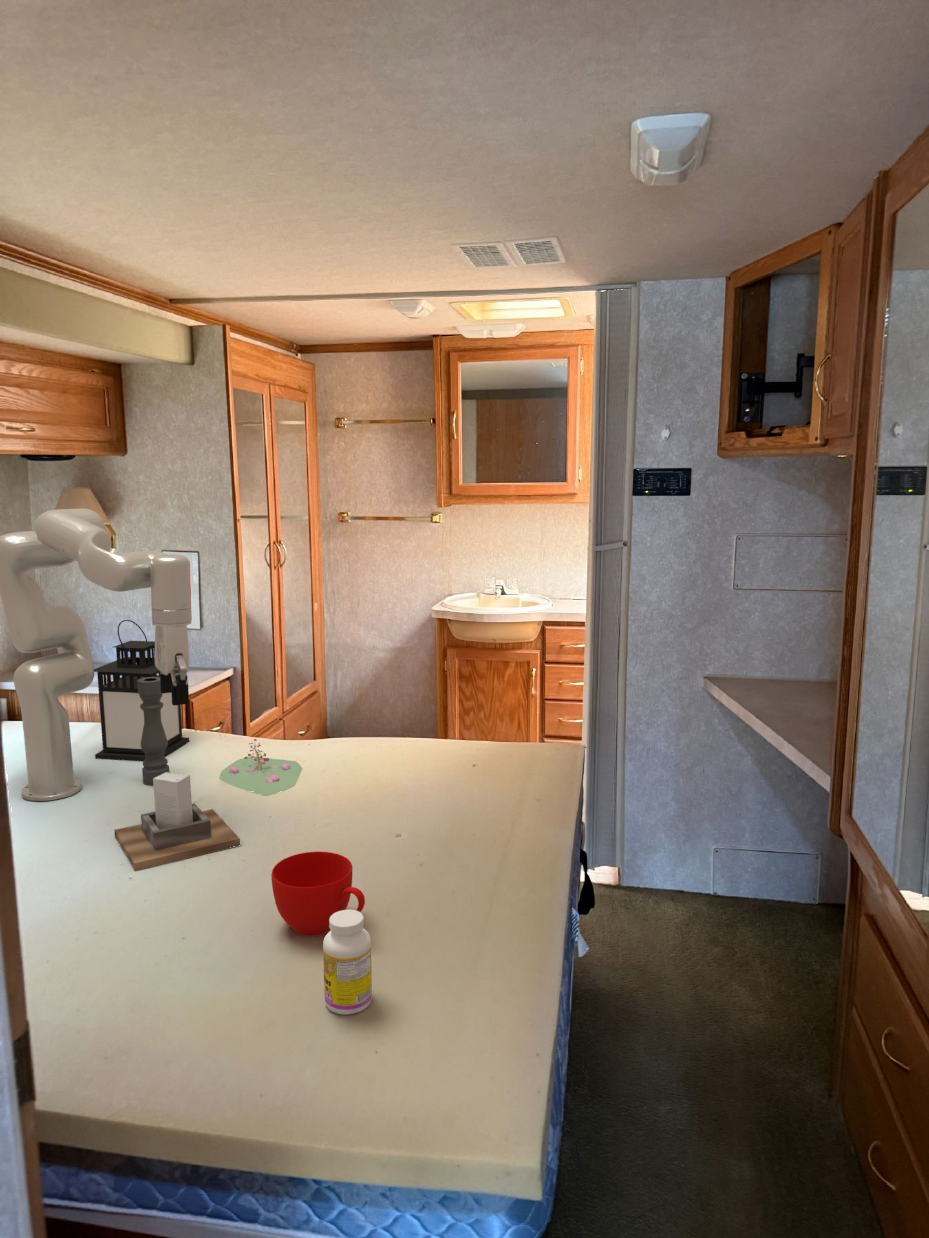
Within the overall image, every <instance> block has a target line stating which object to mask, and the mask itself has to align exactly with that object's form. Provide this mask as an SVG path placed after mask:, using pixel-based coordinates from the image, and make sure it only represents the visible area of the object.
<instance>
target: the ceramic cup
mask: <svg viewBox="0 0 929 1238" xmlns="http://www.w3.org/2000/svg"><path fill="white" fill-rule="evenodd" d="M270 878H271V886H272V892H273V897H274V902H275V906H276V908H277V911H278V913H279V915H280V916H281V918H282V919H283V920H284V922H285V924H287V925H288V926H289V927H290V928H291V929H292V930H294V932H295V933H296V934H298V935H301V936H305V937H317V936H321V935H325V934H326V933H327V934H328V933H329V932H330V931H331V930H330V927H329V919H330V917H331V916H332V915H333V914H334V913H336V912H338V911H342V910H347V907H348V905H349V904H350V899H351V895H354V896H355V897H356V899H357V903H358V905H357V908H356V909H355V910H356V911H359V912H360V913H361V912H362V911H363V910H364V908H365V905H366V899H365V895H364V893H363V891H362V890H360V889H359V888H358V887H355V886H353V864H352V862H351V860H349V858H347V857H345V856H343V854H340V853H336V852H330V851H319V850H318V851H307V852H300V853H297V854H293V855H290V856H288V857H285V858H283V859H281V860H280V861H278V862H277V863H276V864H275V865H274V866H273V868H272V871H271V877H270Z"/></svg>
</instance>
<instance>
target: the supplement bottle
mask: <svg viewBox="0 0 929 1238" xmlns="http://www.w3.org/2000/svg"><path fill="white" fill-rule="evenodd" d="M364 920H365V919H364V915H363V913H361V912H359V911H356V909H346V910H342V911H338V912H336V913H334V914H333V915H332V916H331V917H330V919H329V927H330V931H329V932H327V934H326V935H325V936H324V938H323V942H322V953H323V954H322V956H323V986H324V987H323V990H324V1003H325V1006H326V1007H327V1009H328V1010H329V1011H331V1012H333V1013H335V1014H338V1015H346V1016H347V1015H353V1014H357V1013H360V1012H362V1011H364V1010H366V1008H368V1007H369V1005H371V1003H372V999H373V974H372V973H373V971H372V968H373V967H372V966H373V965H372V938H371V934H370V933H369V932H368V930H366V929H365V928H364V924H365V922H364Z"/></svg>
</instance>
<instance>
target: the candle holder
mask: <svg viewBox="0 0 929 1238" xmlns="http://www.w3.org/2000/svg"><path fill="white" fill-rule="evenodd" d="M137 682H138V694H139V695H140V698H141V700H142V701H143V703H142V704H141V705H140V708H141V709H142V710H143V711H144V727H143V733H142V738H141V749H142V751H143V752H144V753H145V756H146V758H145V761H143V762H142V765H143V767H142V769H141V772H142V784H143V785H144V786H148V787H151V786H152V787H154V786H153V778H155V777H157V776H159V775H161V774H163V773H165V772H168V773H171V772H170V771H171V770H170V765H169V764H168V762H169V760H168V758H166V757H165V756H163V755H164V754H165V752H164V751H165V750H166V748H167V745H168V741H167V738H166V735H165V732H164V728H163V725H162V722H161V708H162V707H163V703H162V702H160V700H161V697H162V695H163V694H162V693H161V685H160V677H146V678H141V679H139V680H137Z"/></svg>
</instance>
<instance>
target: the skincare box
mask: <svg viewBox="0 0 929 1238" xmlns="http://www.w3.org/2000/svg"><path fill="white" fill-rule="evenodd" d="M152 787H153V795H154V797H153V798H154V812H155V815H156V826H157V828H158V829H159V830H160V829H164V828H169V827H173V826H178V825H183V824H187V823H192V822H193V814H192V804H193V803H192V802H193V800H192V799H193V798H192V786H191V775H190V774H182V773H175V772H170V773H168V772H165V773H163V774H161V775H159V776H157V777H155V778H153V786H152Z"/></svg>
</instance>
